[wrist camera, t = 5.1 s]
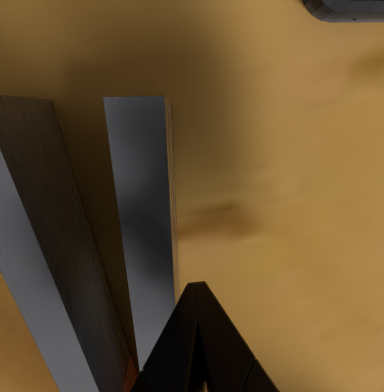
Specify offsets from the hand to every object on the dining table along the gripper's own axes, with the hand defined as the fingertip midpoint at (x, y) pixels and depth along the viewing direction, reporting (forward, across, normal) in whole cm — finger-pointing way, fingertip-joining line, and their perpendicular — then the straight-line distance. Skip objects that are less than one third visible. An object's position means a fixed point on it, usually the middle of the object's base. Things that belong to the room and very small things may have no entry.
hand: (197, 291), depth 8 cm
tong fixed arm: (+2, +5, +2) cm, 6 cm away
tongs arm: (+2, +3, +5) cm, 6 cm away
